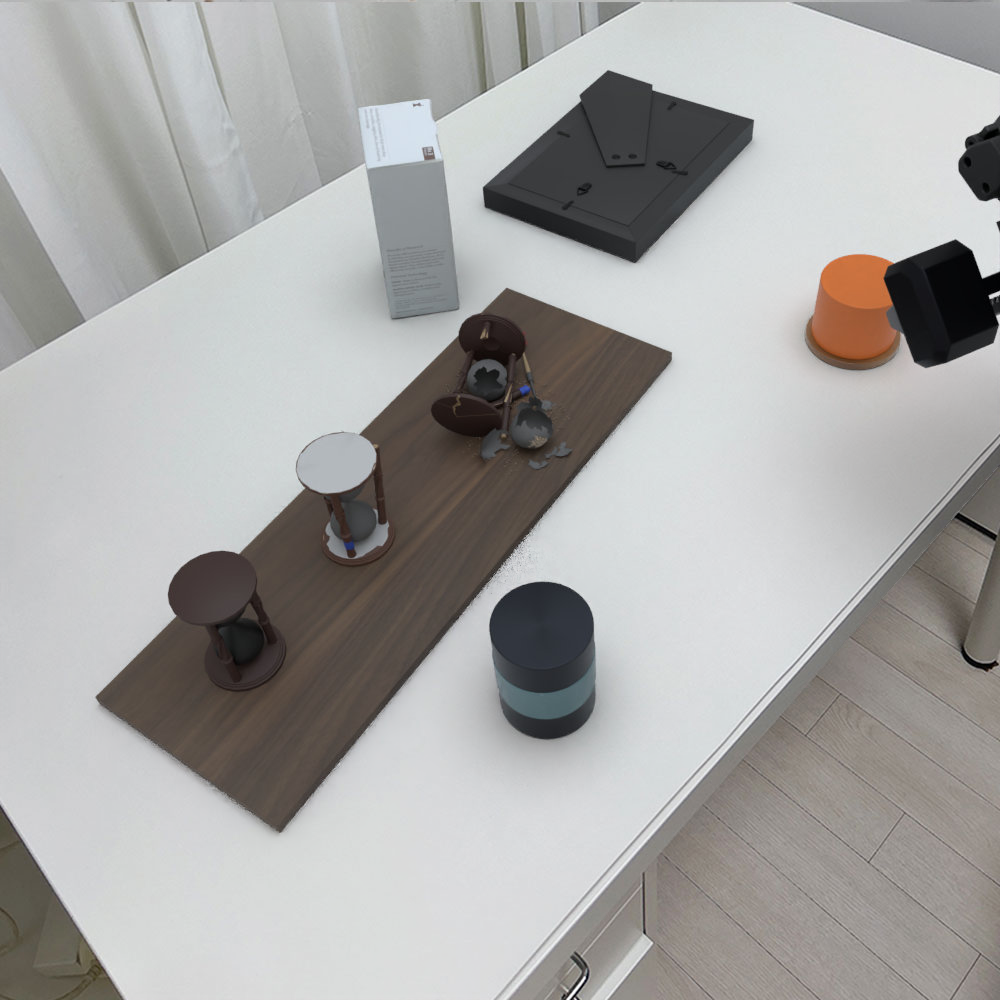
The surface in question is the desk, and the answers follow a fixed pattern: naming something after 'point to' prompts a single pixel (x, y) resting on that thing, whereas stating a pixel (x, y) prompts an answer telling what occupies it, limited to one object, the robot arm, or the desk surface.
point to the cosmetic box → (410, 206)
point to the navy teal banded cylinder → (544, 659)
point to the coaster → (849, 362)
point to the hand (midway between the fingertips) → (947, 296)
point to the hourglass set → (376, 553)
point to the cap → (853, 308)
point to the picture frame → (619, 166)
